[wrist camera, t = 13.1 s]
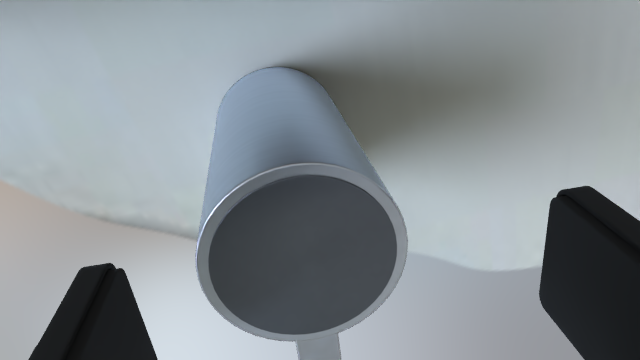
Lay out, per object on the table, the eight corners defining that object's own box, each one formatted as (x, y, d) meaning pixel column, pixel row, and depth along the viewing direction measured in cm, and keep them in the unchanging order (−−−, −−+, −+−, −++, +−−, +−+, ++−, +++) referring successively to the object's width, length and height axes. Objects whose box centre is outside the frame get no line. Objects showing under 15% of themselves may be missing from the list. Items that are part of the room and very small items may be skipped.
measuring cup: (204, 77, 19) (170, 185, 10) (330, 58, 19) (405, 146, 10) (235, 214, 22) (230, 394, 13) (344, 195, 22) (413, 357, 13)
